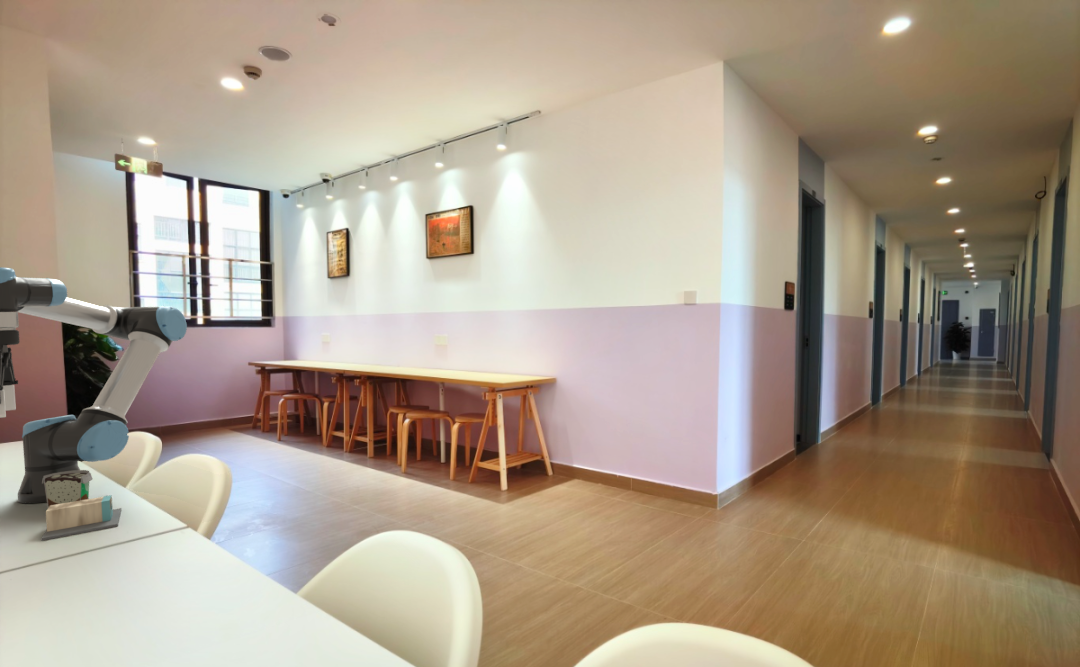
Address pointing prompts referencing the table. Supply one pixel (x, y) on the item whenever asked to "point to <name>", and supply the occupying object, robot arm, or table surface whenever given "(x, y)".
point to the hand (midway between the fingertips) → (3, 414)
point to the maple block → (79, 513)
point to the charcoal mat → (84, 527)
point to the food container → (67, 486)
